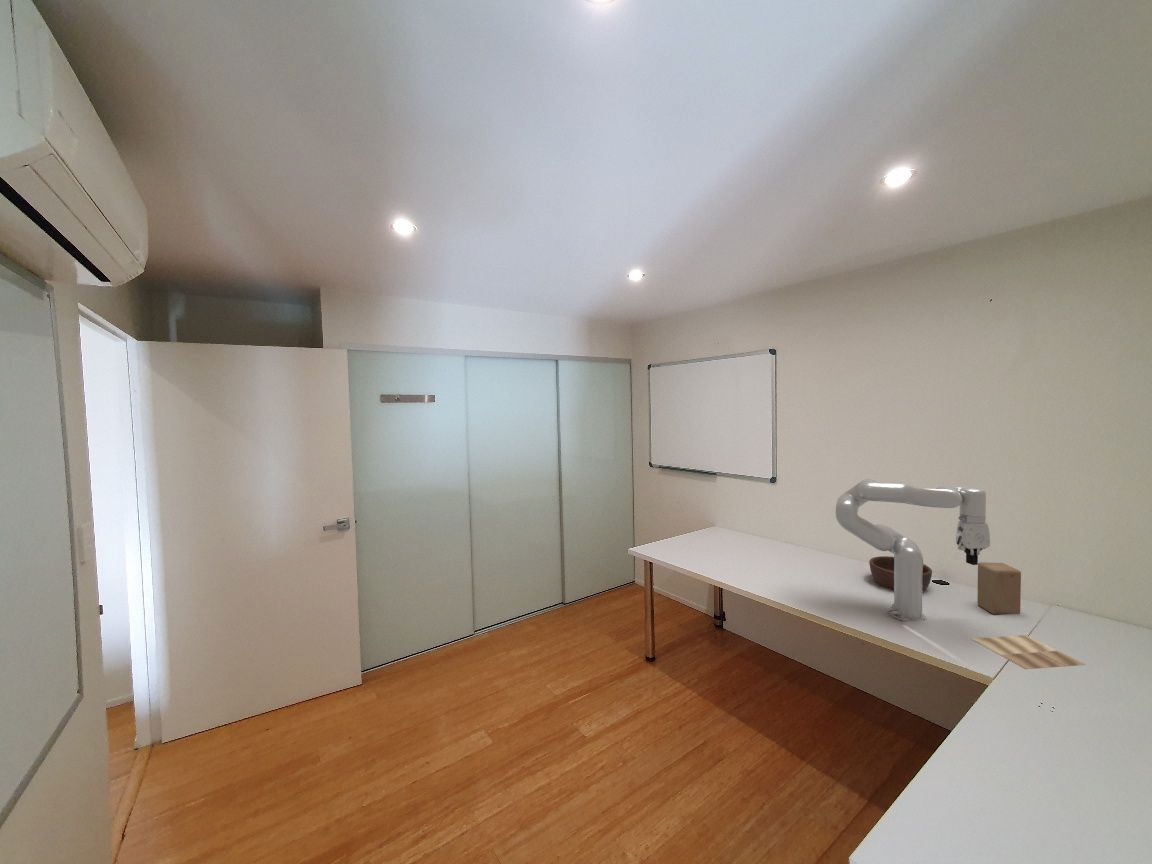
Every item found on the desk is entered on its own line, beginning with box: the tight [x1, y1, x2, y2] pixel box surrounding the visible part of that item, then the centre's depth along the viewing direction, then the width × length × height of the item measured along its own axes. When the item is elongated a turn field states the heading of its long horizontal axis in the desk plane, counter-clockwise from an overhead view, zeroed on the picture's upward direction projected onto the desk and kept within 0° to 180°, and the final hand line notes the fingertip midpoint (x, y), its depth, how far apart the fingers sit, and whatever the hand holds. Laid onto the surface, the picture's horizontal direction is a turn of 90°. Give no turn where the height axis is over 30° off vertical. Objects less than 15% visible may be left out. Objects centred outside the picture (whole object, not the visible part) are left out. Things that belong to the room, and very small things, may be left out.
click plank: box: [971, 634, 1058, 656], centre depth 154 cm, size 22×10×1 cm, turn 93°
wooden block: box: [977, 561, 1022, 616], centre depth 180 cm, size 10×10×20 cm
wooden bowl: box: [868, 555, 933, 592], centre depth 209 cm, size 25×25×10 cm
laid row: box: [1000, 650, 1087, 670], centre depth 144 cm, size 22×8×1 cm, turn 93°
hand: (971, 563), depth 166 cm, fingers closed
